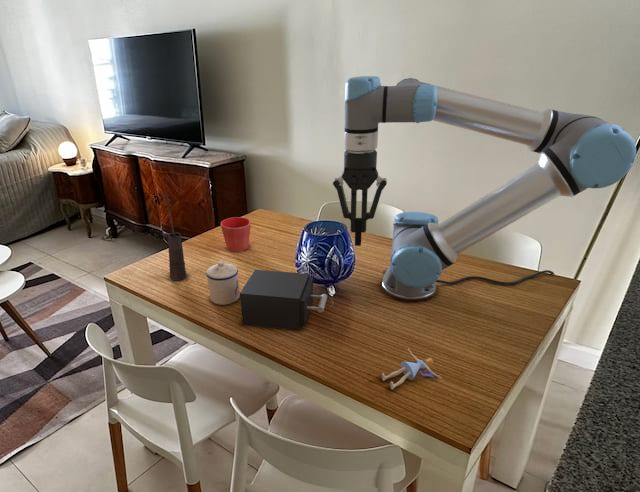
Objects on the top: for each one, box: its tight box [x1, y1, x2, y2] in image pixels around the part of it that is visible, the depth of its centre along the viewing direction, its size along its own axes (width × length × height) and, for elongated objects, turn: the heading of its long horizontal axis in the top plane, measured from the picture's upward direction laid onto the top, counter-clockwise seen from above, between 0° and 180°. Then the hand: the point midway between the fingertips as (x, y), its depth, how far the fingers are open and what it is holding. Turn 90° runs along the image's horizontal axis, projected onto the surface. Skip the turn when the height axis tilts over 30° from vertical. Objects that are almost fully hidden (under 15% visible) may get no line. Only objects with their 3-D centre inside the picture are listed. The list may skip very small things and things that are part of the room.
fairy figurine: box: [381, 347, 443, 390], centre depth 99 cm, size 12×5×12 cm
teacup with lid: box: [205, 260, 240, 306], centre depth 131 cm, size 12×9×12 cm
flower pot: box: [220, 216, 252, 252], centre depth 162 cm, size 11×11×10 cm
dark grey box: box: [239, 269, 310, 331], centre depth 122 cm, size 16×14×10 cm
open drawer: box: [300, 277, 329, 328], centre depth 121 cm, size 19×12×8 cm, turn 76°
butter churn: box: [165, 190, 187, 281], centre depth 138 cm, size 9×10×28 cm
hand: (358, 243), depth 116 cm, fingers closed
